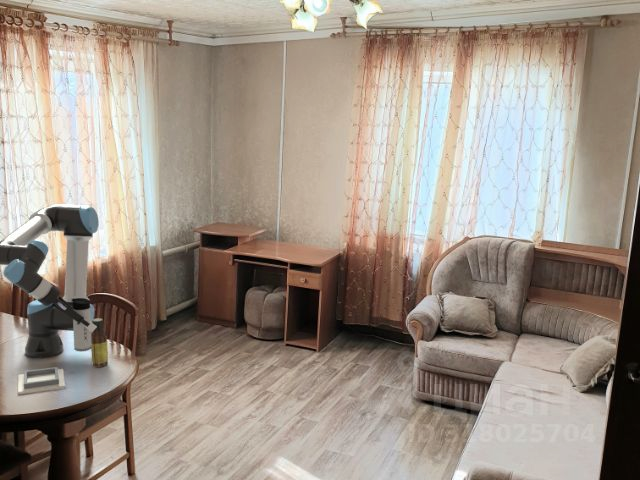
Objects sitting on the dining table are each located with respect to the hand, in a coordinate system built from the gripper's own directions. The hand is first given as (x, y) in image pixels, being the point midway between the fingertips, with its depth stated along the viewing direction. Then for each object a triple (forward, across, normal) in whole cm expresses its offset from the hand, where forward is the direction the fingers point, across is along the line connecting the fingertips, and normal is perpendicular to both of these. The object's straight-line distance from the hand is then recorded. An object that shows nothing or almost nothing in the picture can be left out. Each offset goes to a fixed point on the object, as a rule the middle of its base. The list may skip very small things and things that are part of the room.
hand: (91, 326), depth 231 cm
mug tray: (+3, -7, -28) cm, 29 cm away
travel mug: (+4, 0, -9) cm, 9 cm away
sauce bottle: (+20, -12, -11) cm, 26 cm away
